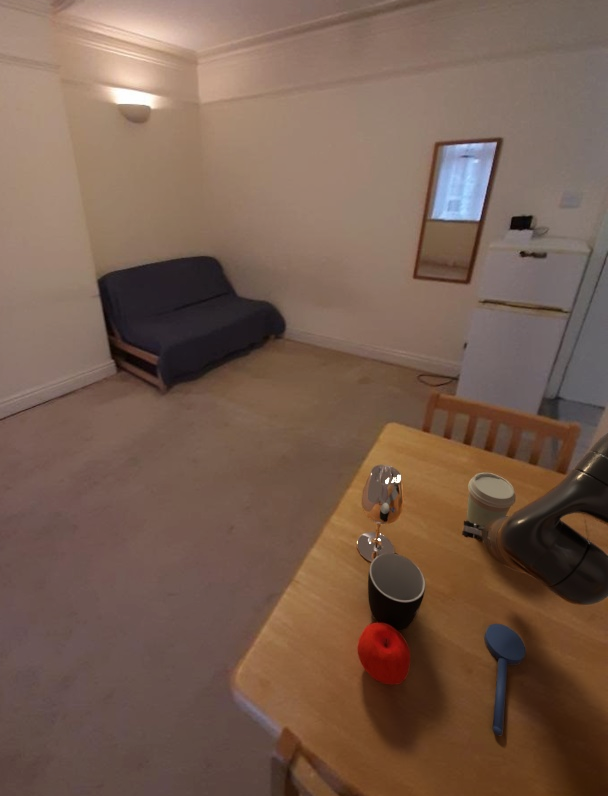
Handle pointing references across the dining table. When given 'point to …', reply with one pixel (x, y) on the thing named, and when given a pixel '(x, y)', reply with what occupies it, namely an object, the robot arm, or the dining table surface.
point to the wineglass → (380, 509)
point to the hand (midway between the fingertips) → (492, 536)
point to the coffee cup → (488, 498)
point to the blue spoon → (503, 664)
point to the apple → (384, 653)
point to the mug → (395, 590)
